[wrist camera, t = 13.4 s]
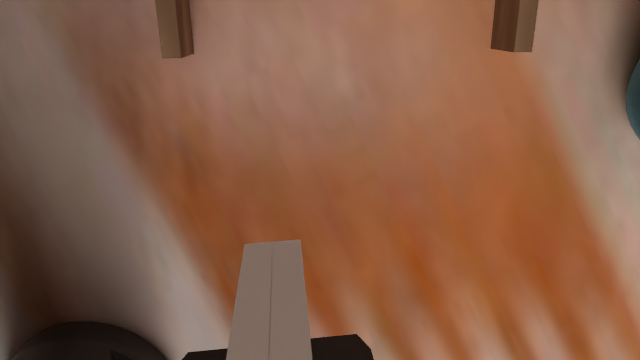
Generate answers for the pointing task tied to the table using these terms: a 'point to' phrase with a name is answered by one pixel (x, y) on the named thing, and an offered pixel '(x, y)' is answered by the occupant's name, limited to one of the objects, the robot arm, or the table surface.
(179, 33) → the channel
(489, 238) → the table surface
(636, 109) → the casserole dish
